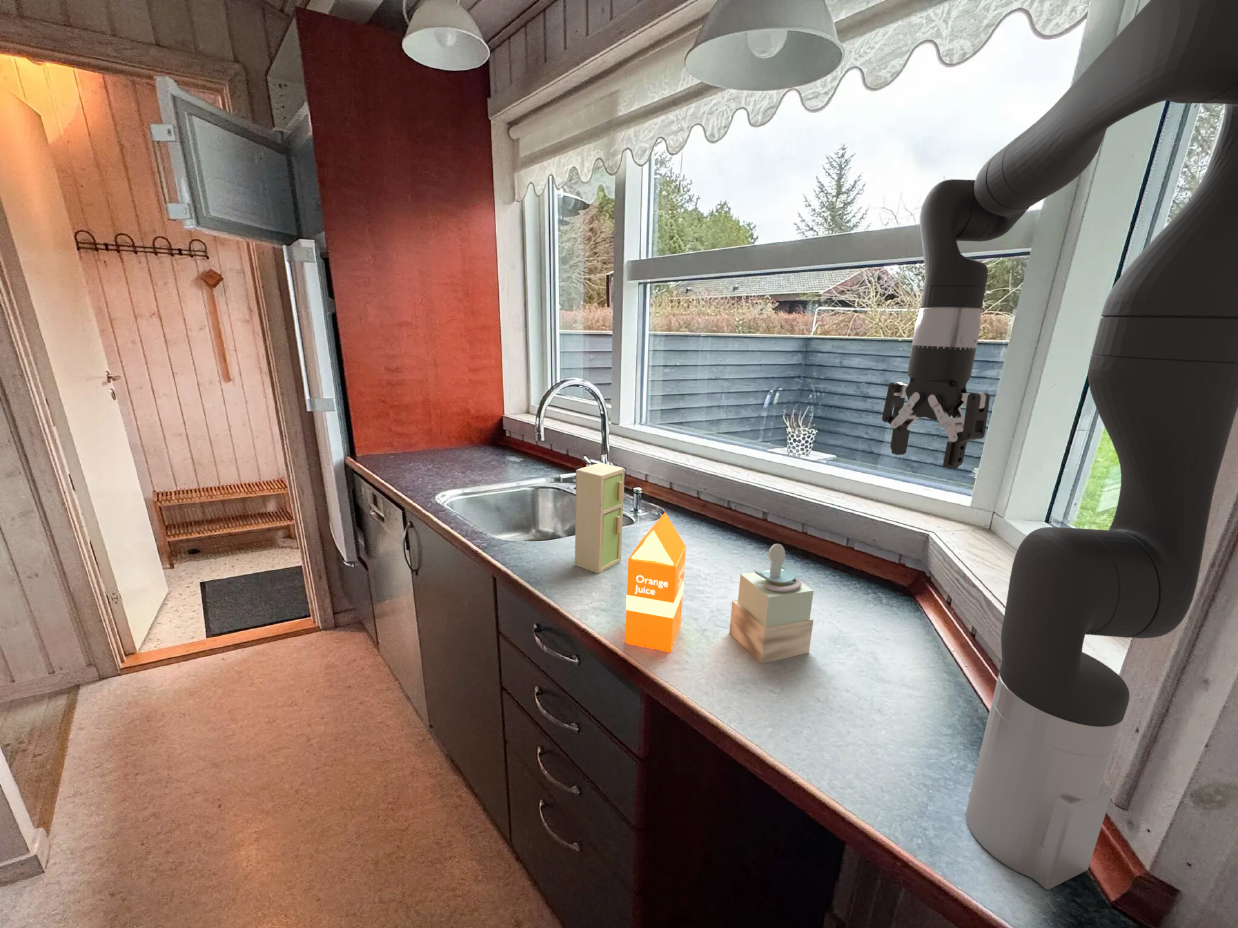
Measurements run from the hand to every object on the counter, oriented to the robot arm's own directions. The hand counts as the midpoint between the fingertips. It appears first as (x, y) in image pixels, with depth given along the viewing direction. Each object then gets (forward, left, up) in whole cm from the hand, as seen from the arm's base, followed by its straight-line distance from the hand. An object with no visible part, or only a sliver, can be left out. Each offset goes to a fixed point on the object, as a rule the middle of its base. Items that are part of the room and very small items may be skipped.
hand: (922, 460), depth 77 cm
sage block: (+10, +15, -26) cm, 32 cm away
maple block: (+10, +15, -32) cm, 37 cm away
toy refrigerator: (+46, +32, -32) cm, 65 cm away
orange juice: (+18, +32, -32) cm, 49 cm away
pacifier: (+9, +15, -22) cm, 28 cm away
